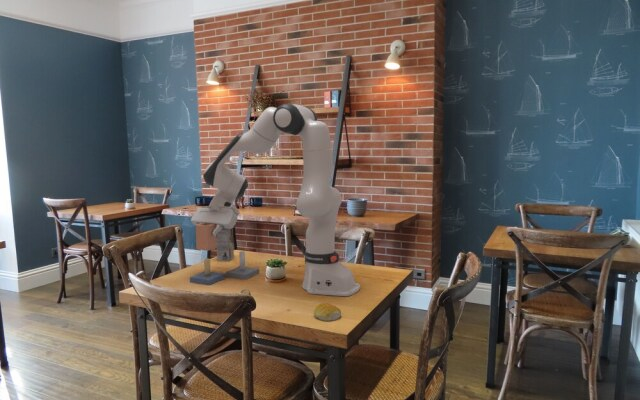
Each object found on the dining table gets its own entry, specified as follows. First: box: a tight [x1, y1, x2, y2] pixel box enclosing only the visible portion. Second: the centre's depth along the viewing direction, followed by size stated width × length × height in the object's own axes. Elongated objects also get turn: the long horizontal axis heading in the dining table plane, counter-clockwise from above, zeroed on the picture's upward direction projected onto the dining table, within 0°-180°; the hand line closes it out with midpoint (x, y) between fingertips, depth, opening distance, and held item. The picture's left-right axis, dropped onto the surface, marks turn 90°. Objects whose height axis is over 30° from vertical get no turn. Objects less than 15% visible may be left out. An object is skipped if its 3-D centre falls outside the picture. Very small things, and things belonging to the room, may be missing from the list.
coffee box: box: [216, 227, 235, 262], centre depth 216 cm, size 9×6×16 cm
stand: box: [225, 250, 260, 280], centre depth 190 cm, size 10×10×10 cm
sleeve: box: [195, 223, 217, 251], centre depth 181 cm, size 6×6×10 cm
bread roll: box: [313, 302, 342, 322], centre depth 144 cm, size 8×9×4 cm
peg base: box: [189, 257, 226, 286], centre depth 183 cm, size 10×10×9 cm
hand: (205, 234), depth 181 cm, fingers closed on sleeve, 6 cm apart
